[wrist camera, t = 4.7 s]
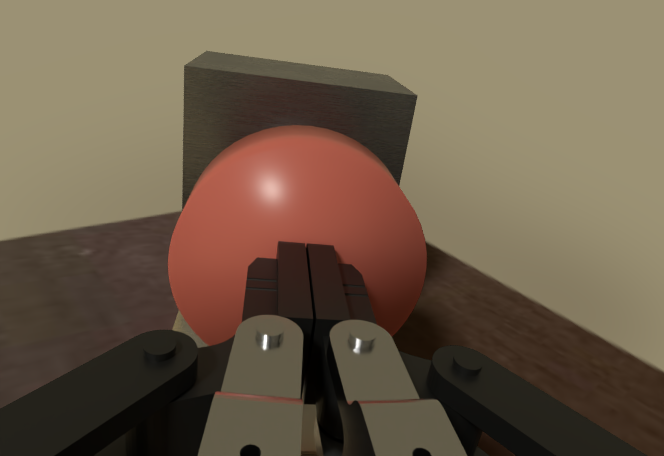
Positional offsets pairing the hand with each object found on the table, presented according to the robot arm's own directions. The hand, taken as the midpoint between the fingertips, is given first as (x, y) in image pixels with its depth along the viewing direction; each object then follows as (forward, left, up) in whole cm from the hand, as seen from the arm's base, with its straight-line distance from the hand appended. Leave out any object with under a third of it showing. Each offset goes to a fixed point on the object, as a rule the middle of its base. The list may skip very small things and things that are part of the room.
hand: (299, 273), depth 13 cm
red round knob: (+2, -4, -3) cm, 6 cm away
